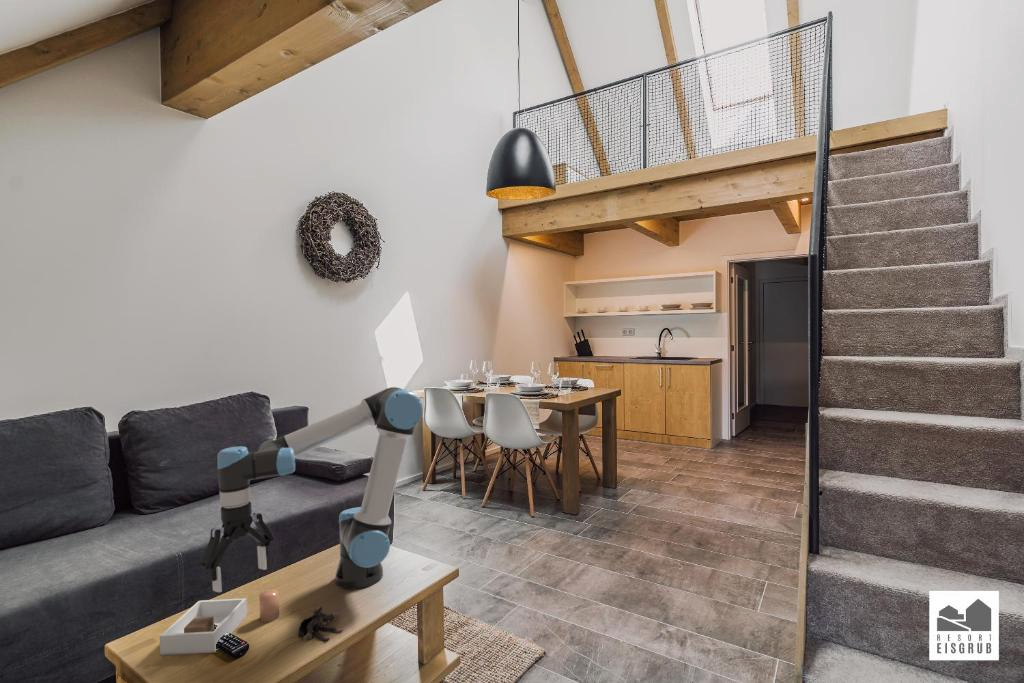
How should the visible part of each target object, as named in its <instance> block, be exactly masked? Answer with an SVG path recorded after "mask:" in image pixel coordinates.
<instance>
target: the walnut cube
mask: <svg viewBox="0 0 1024 683" xmlns="http://www.w3.org/2000/svg"><path fill="white" fill-rule="evenodd" d="M213 630H214V616H213V617H197V618H194V619H193V620H192V621H191V622H190V623H189V624H188V625H187V626H186V627H185V628H184V633H194V632H212V631H213Z"/></svg>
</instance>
